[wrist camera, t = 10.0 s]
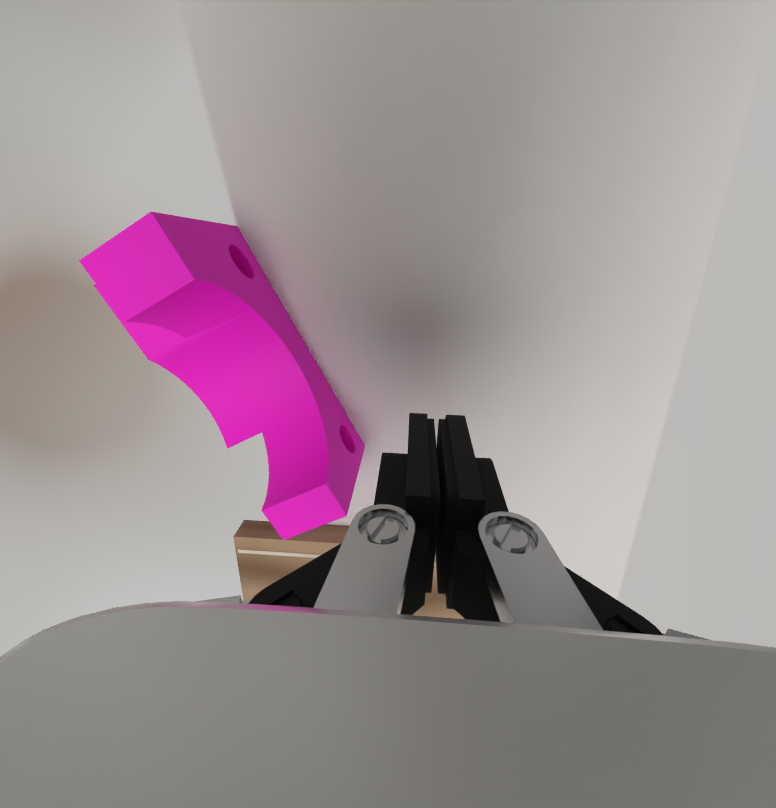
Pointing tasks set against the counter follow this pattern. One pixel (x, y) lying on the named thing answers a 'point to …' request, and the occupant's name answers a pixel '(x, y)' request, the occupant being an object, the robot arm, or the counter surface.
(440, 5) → the counter surface
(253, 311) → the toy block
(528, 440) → the counter surface
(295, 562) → the plank
